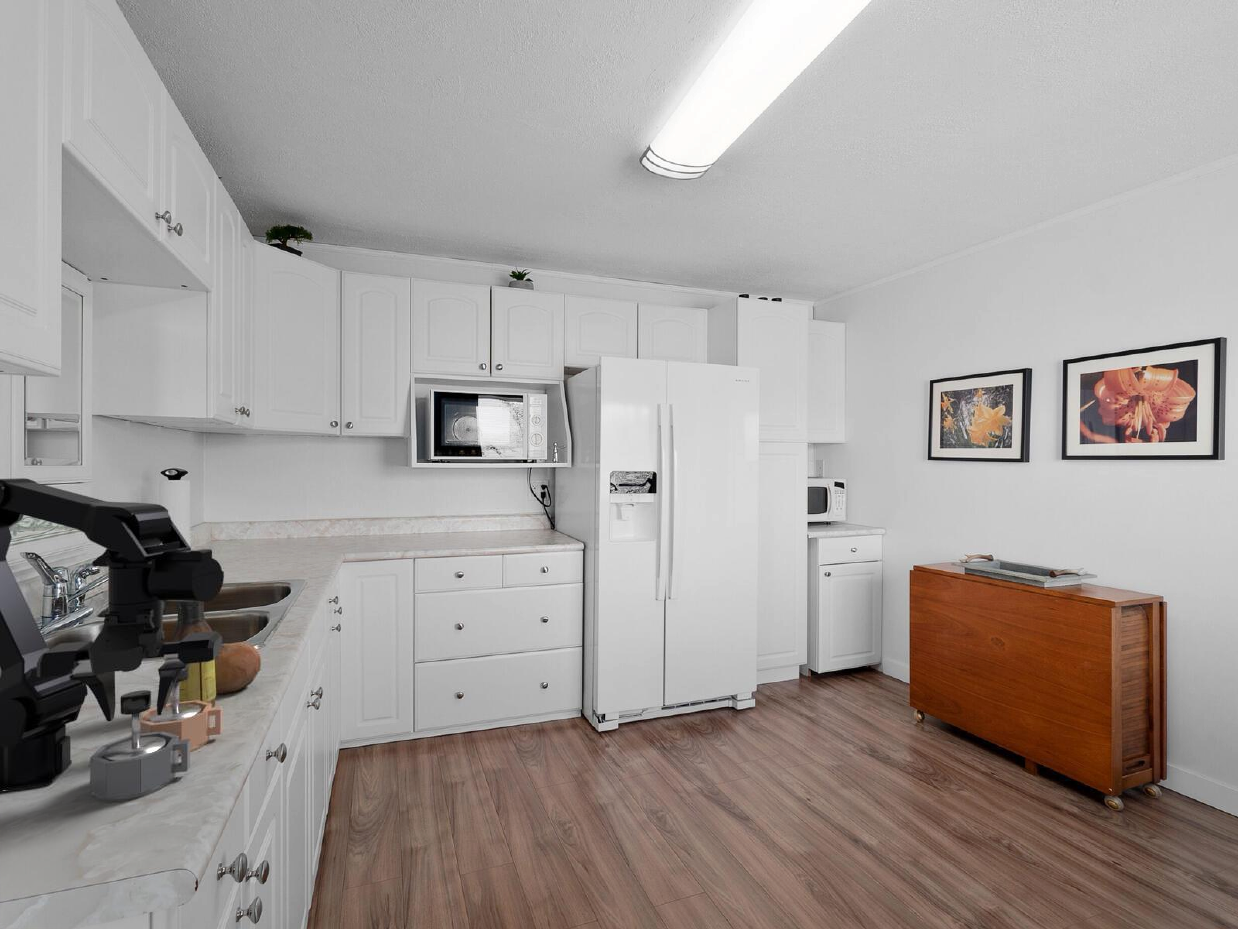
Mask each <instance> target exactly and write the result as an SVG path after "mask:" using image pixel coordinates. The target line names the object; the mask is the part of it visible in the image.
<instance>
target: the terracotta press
mask: <svg viewBox="0 0 1238 929" xmlns="http://www.w3.org/2000/svg"><path fill="white" fill-rule="evenodd" d="M186 704H194V705H199V706H200V707H201V713H199V714H196V715H193V716H191V717H188V718H185V719H182V720H178V721H170V722H161V723H153V722H149V717H150V715H151V714H153V713H154V712H157V707H155V708H152V709H151V708H150V709H149V710H147V711H144V712H143V713H142V714H141V715H140V734H145V733H153V732H161V731H163V732H167V733H170V734H173V735H177V736H178V741H180V740H186V739H190V753H191V752H194V751H196V750H198V749H200V748H202V747H204V746H205V745H206V744H207V743H208V742H210V738H211V737H210V736H218V735H222V733H223V728H224V727H223V715H224V714H223V710H224V709H223V707H224V706H223V705H220V706H216V707H215V706H214V707H213V708H212V704H211V703H207V702H203V701H199V700H194V701H185V702H179V705H186ZM168 707H172V702H170V703H167V704H166V707H165V708H168ZM213 716H214V726H213V724H212V723H213ZM179 756H181V750H178V757H179Z"/></svg>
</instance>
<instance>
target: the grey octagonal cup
mask: <svg viewBox="0 0 1238 929" xmlns="http://www.w3.org/2000/svg"><path fill="white" fill-rule="evenodd" d="M142 737H162V738H164V739H165V740H166V746H165V747H164V748H162V749H159V750H157V751H154V752H152V753H149V754H147V755H144V756H142V757H137V758H130V759H123V760H115V761H109V760H106V759H105V752H106V751H107V750H108V749H110V748H111V747H113V746H115V745H117V744H120V743H122V742H125V741H129V740H132V734H131V735H128V736H125V737H123V738H120V739H117V740H115V741H112V742H111V741H110V742H108V743H106V744H102V745H101V746H100V747H99V748H98V749H97V750H96V751H95V752H94V753H93V754H92V755H91V757H90V758H89V792H90V793H91V794H93V799H95V800H97V801H99V802H104V803H105V802H106V803H114V802H116V803H117V802H123V801H130V800H134V799H138V798H142V797H145V796H147V795H150V794H152V793H154V792H157V791H159V790H161V789H163V788H165V787H166V786H168V785H170V784H171V783H172V782H173V781H174V779H175V778H176V775H177V774H176V773H184V772H188V771H189V769H191V752H190V739H186V740H180V741H178V736H177V735H173V734H170V733H167V732H163V731H161V732H153V733H145V734H140V738H142ZM178 750H181V755H180V758H181V759H180V760H181V762H179V756H178Z"/></svg>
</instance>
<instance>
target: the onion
mask: <svg viewBox="0 0 1238 929" xmlns="http://www.w3.org/2000/svg"><path fill="white" fill-rule="evenodd" d="M214 660H215V682H216V693H218V694H227V693H228V694H229V693H233V692H235V691H239V690H241V691H242V690H244V689H246V688H247V687H248V686H249V685H251V684H252V683H253V682H254V681H255V679H256V678H257V675H258V674H259V673H260V671H261V666H262V665H261V664H262V663H261V662H262V659H261V654H260V653H259V650H258V649H257V648H256V647H255V646H254V645H252V644H250V643H248V642H244V641H238V642H231V643H222V650H221V651H220V653H219V654H218V655H217V656H216V658H215V659H214Z"/></svg>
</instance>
